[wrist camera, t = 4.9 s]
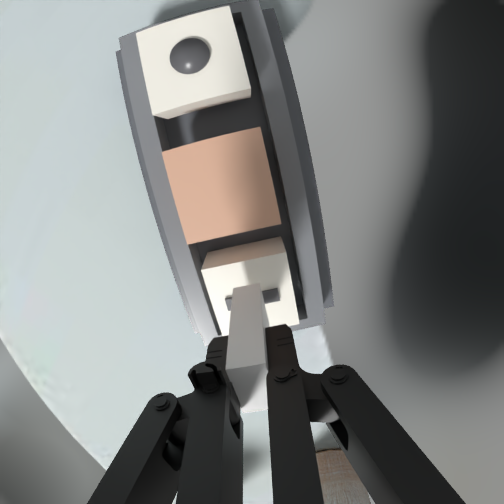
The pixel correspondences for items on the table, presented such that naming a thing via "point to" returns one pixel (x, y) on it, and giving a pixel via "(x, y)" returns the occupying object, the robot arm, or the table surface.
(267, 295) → the bar key
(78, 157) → the table surface
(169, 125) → the keypad
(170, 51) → the dot key
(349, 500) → the planter
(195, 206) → the blank key
